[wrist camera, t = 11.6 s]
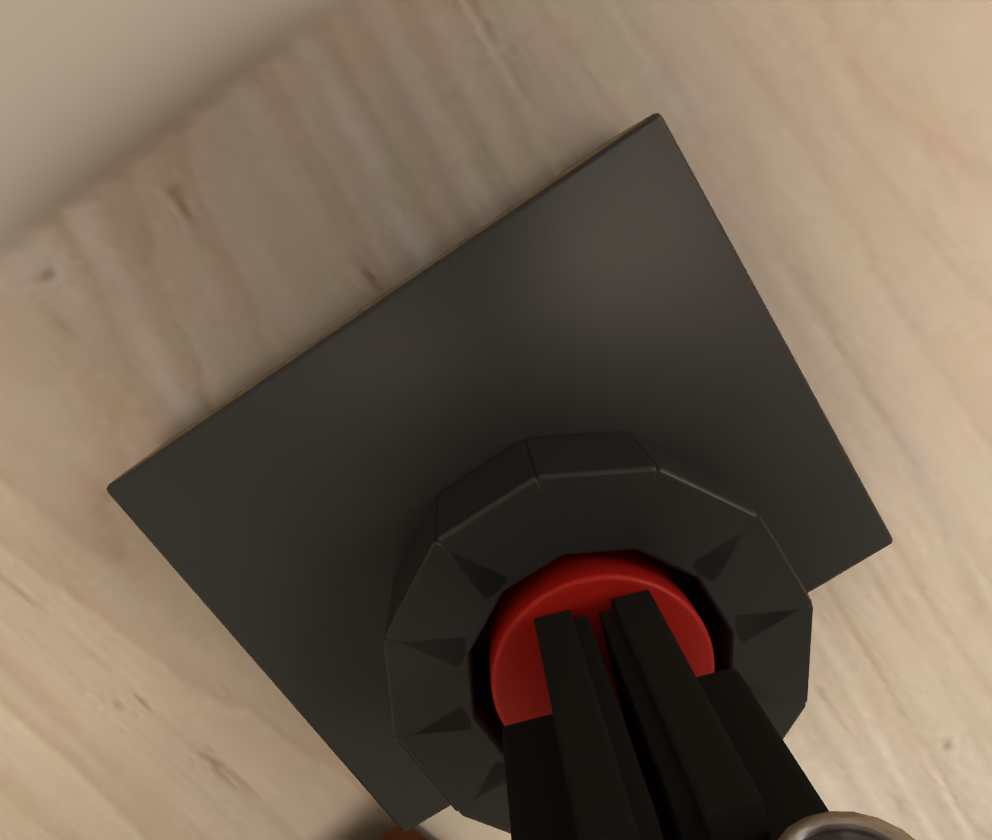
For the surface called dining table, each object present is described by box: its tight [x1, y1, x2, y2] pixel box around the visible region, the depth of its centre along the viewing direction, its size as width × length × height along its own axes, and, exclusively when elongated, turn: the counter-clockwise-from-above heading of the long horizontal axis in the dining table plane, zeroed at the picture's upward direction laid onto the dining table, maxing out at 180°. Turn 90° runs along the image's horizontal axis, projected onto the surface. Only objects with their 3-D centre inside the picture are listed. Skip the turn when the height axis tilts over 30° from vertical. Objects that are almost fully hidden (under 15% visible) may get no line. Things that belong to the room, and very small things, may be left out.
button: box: [486, 549, 715, 726], centre depth 11 cm, size 3×3×2 cm
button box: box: [107, 113, 892, 833], centre depth 12 cm, size 9×10×4 cm
